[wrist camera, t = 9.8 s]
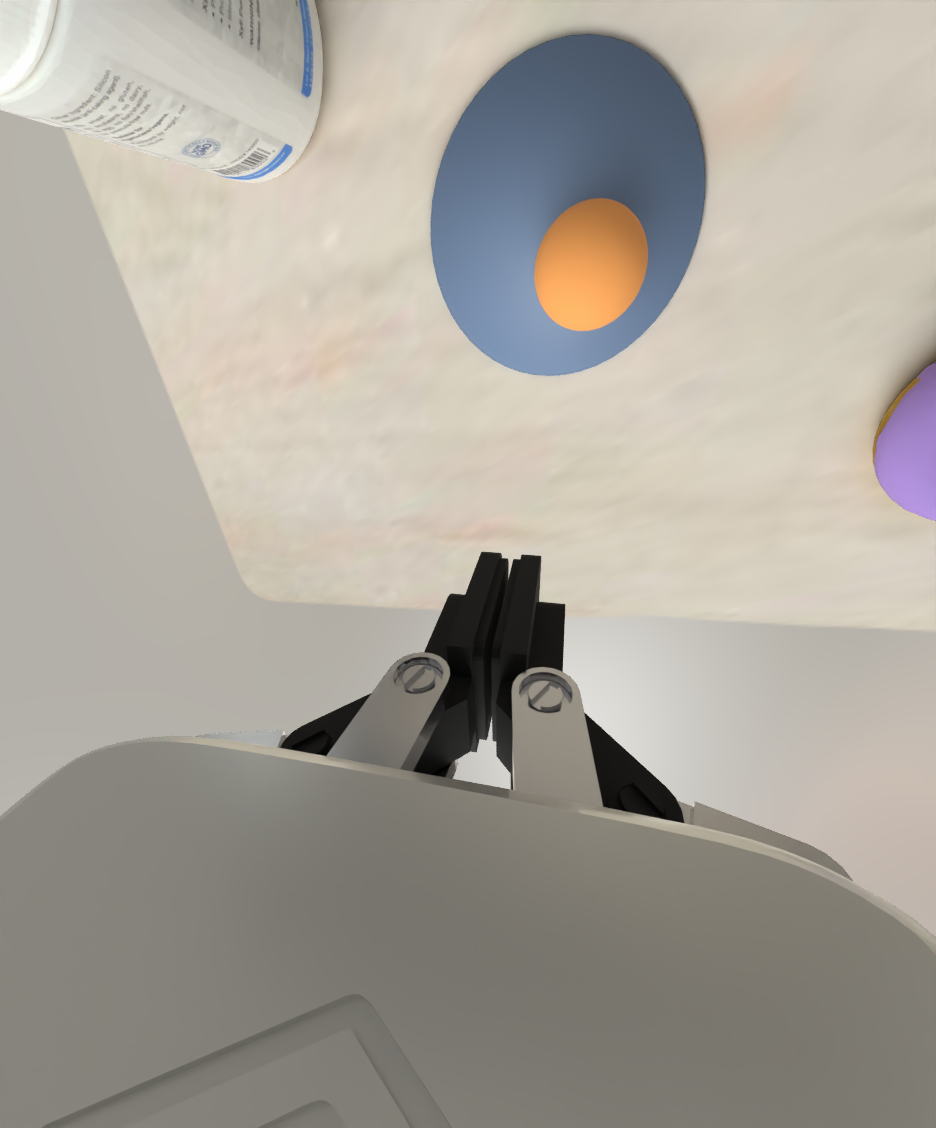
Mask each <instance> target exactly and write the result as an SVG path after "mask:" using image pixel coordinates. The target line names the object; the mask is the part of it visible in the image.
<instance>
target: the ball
mask: <svg viewBox="0 0 936 1128" xmlns="http://www.w3.org/2000/svg"><path fill="white" fill-rule="evenodd" d="M647 263H648V245H647V239H646V235H645V232H644V229H643V227H642V225H641V223H640V221H639V220H638V218H637V217H636V215H635V214H634V213H633V212H632V211H631V210H630V209H629V208H628V207H626V206H625V205H623V204H621V203H619V202H617V201H615V200H611V199H605V198H596V199H589V200H585V201H582V202H579V203H577V204H576V205H574V206H572V207H570V208H568V209H567V210H566V211H565V212H563V213H562V214H561V215H560V216H559V217H558V218H557V219H556V220H555V221H554V222H553V224H552V225H551V226H550V228H549V229H548V231H547V232H546V234H545V235H544V237H543V240H542V242H541V244H540V246H539V249H538V253H537V257H536V261H535V271H534V281H535V288H536V293H537V296H538V299H539V301H540V304H541V305H542V307H543V309H544V310H545V312H546V313H547V315H548V316H549V317H550V318H551V319H552V320H553V321H554V322H556V323H557V324H559V325H561V326H563V327H565V328H567V329H571V330H575V331H589V330H594V329H598V328H601V327H603V326H605V325H608V324H609V323H611V322H613V321H614V320H615V319H617V318H618V317H619V316H620V315H622V314H623V313H624V312H625V311H626V310H627V308H628V307H629V306H630V305H631V303H632V302H633V301H634V299H635V298H636V296H637V294H638V292H639V290H640V288H641V286H642V283H643V281H644V277H645V274H646V269H647Z"/></svg>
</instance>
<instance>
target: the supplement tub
mask: <svg viewBox="0 0 936 1128" xmlns="http://www.w3.org/2000/svg"><path fill="white" fill-rule="evenodd" d="M322 83H323V51H322V38H321V31H320V25H319V19H318V14H317V9H316V5H315V1H314V0H0V110H3V111H6V112H9V113H12V114H15V115H19V116H22V117H25V118H29V119H33V120H36V121H39V122H42V123H46V124H49V125H52V126H56V127H59V128H62V129H66V130H69V131H72V132H76V133H79V134H82V135H85V136H89V137H92V138H95V139H99V140H102V141H105V142H108V143H112V144H115V145H118V146H122V147H125V148H129V149H132V150H135V151H139V152H142V153H145V154H148V155H152V156H155V157H159V158H162V159H166V160H169V161H172V162H175V163H179V164H182V165H185V166H189V167H192V168H195V169H199V170H202V171H205V172H209V173H212V174H215V175H219V176H222V177H226V178H229V179H232V180H236V181H241V182H247V183H258V182H264V181H267V180H270V179H273V178H275V177H277V176H279V175H281V174H282V173H284V172H285V171H287V170H288V169H289V168H290V167H291V166H292V165H293V164H294V163H295V162H296V161H297V160H298V159H299V157H300V156H301V155H302V153H303V152H304V150H305V148H306V146H307V145H308V143H309V141H310V139H311V136H312V134H313V131H314V128H315V125H316V122H317V118H318V115H319V110H320V103H321V96H322Z"/></svg>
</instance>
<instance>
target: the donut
mask: <svg viewBox="0 0 936 1128" xmlns="http://www.w3.org/2000/svg"><path fill="white" fill-rule="evenodd" d="M873 464H874V467H875V472H876V476H877V478H878V481H879V483H880V485H881V486H882V488H883V489H884V490H885V492H886V493H887V495H888V496H889V497H890V498H891V499H892V500H893V501H894V502H896V503H897V504H898V505H900V506H901V507H902V508H903V509H905V510H907V511H910V512H912V513H915V514H917V515H919V516H922V517H924V518H927V519H931V520H935V521H936V363H933V364H931V365H929V366H928V367H926V368H925V369H924V370H923V371H922V372H921V373H920V374H919V375H918V376H917V377H916V378H915V379H914V380H913V381H912V382H911V383H910V384H909V385H908V386H907V387H906V388H905V389H904V390H903V391H902V392H901V393H900V394H899V395H898V397H897V398H896V399H895V401H894V402H893V403H892V405H891V406H890V407H889V409H888V410H887V412H886V414H885V415H884V417H883V419H882V421H881V423H880V426H879V428H878V431H877V433H876V436H875V441H874V446H873Z"/></svg>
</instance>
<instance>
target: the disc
mask: <svg viewBox="0 0 936 1128" xmlns="http://www.w3.org/2000/svg"><path fill="white" fill-rule="evenodd" d="M596 198H605V199H611V200H615V201H617V202H619V203H621V204H623V205H625V206H626V207H628V208H629V209H630V210H631V211H632V212H633V213H634V214H635V215H636V217H637V218H638V220H639V221H640V223H641V225H642V227H643V229H644V232H645V235H646V239H647V245H648V263H647V269H646V274H645V277H644V281H643V283H642V286H641V288H640V290H639V292H638V294H637V296H636V298H635V299H634V301H633V302H632V303H631V305H630V306H629V307H628V308H627V310H626V311H625V312H624V313H623V314H622V315H620V316H619V317H618V318H617V319H615V320H614V321H613V322H611V323H609V324H608V325H605V326H603V327H601V328H598V329H594V330H589V331H575V330H571V329H567V328H565V327H563V326H561V325H559V324H557V323H556V322H554V321H553V320H552V319H551V318H550V317H549V316H548V315H547V313H546V312H545V310H544V309H543V307H542V305H541V304H540V301H539V299H538V296H537V293H536V288H535V281H534V271H535V261H536V257H537V253H538V249H539V246H540V244H541V242H542V240H543V237H544V235H545V234H546V232H547V231H548V229H549V228H550V226H551V225H552V224H553V222H554V221H555V220H556V219H557V218H558V217H559V216H560V215H561V214H562V213H563V212H565V211H566V210H567V209H568V208H570V207H572V206H574V205H576V204H577V203H579V202H582V201H585V200H589V199H596ZM704 198H705V168H704V157H703V149H702V144H701V140H700V135H699V131H698V127H697V124H696V121H695V119H694V116H693V113H692V111H691V108H690V105H689V104H688V102H687V100H686V98H685V96H684V95H683V93H682V91H681V89H680V87H679V86H678V84H677V83H676V82H675V81H674V79H673V78H672V77H671V76H670V74H669V73H668V72H667V71H666V69H665V68H664V67H663V66H662V65H660V64H659V63H658V62H657V61H656V60H655V59H653V58H652V57H651V56H650V55H649V54H647V53H646V52H644V51H642V50H641V49H639V48H637V47H635V46H634V45H632V44H630V43H627V42H624V41H621V40H618V39H615V38H612V37H608V36H600V35H592V34H586V35H572V36H566V37H562V38H558V39H554V40H550V41H547V42H545V43H543V44H540V45H538V46H536V47H534V48H532V49H529V50H527V51H526V52H524V53H523V54H521V55H520V56H518V57H517V58H515V59H514V60H512V61H511V62H509V63H508V64H507V65H505V66H504V67H503V68H502V69H501V70H500V71H499V72H497V73H496V74H495V75H494V76H493V77H492V78H491V79H490V80H489V81H488V82H487V83H486V84H485V86H484V87H483V88H482V89H481V90H480V91H479V92H478V94H477V95H476V96H475V97H474V99H473V100H472V102H471V103H470V105H469V106H468V108H467V109H466V111H465V112H464V113H463V115H462V117H461V119H460V120H459V122H458V124H457V126H456V128H455V130H454V132H453V134H452V136H451V138H450V140H449V143H448V145H447V148H446V150H445V153H444V155H443V158H442V161H441V165H440V168H439V172H438V175H437V179H436V184H435V190H434V195H433V201H432V213H431V246H432V254H433V263H434V267H435V271H436V276H437V280H438V283H439V286H440V289H441V292H442V295H443V298H444V300H445V302H446V304H447V306H448V309H449V311H450V313H451V315H452V316H453V318H454V319H455V321H456V323H457V324H458V326H459V327H460V329H461V330H462V331H463V332H464V334H465V335H466V336H467V337H468V339H469V340H470V341H471V342H472V343H473V344H474V345H475V346H476V347H477V348H478V349H480V350H481V351H482V352H483V353H485V354H486V355H487V356H489V357H490V358H491V359H493V360H494V361H496V362H498V363H500V364H502V365H504V366H506V367H508V368H511V369H514V370H517V371H519V372H523V373H528V374H533V375H546V376H553V375H565V374H570V373H575V372H579V371H583V370H585V369H588V368H591V367H594V366H596V365H598V364H600V363H602V362H604V361H606V360H608V359H610V358H612V357H613V356H615V355H616V354H618V353H619V352H621V351H622V350H624V349H625V348H627V347H628V346H629V345H630V344H632V343H633V342H634V341H635V340H636V339H637V338H639V337H640V336H641V335H642V334H643V333H644V332H645V331H646V330H647V329H648V328H649V327H650V325H651V324H652V323H653V322H654V321H655V320H656V319H657V317H658V316H659V315H660V313H661V312H662V311H663V309H664V308H665V307H666V306H667V304H668V302H669V301H670V299H671V298H672V296H673V294H674V293H675V291H676V289H677V288H678V286H679V284H680V282H681V280H682V278H683V276H684V274H685V271H686V269H687V267H688V265H689V262H690V259H691V256H692V254H693V251H694V248H695V245H696V242H697V237H698V233H699V229H700V225H701V221H702V213H703V206H704Z"/></svg>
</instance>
